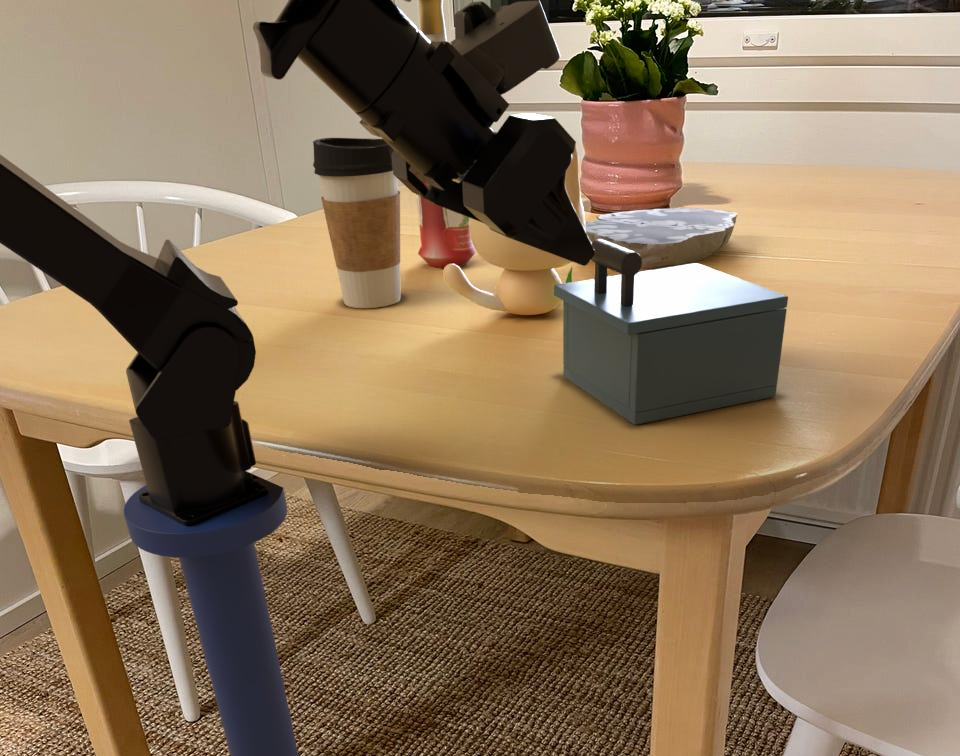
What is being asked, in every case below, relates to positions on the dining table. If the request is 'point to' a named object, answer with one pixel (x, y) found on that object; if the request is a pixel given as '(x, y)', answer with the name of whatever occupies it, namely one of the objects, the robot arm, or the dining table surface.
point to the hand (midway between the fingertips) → (559, 246)
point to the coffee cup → (361, 217)
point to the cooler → (674, 363)
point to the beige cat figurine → (518, 264)
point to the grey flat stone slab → (666, 233)
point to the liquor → (438, 226)
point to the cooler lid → (661, 293)
